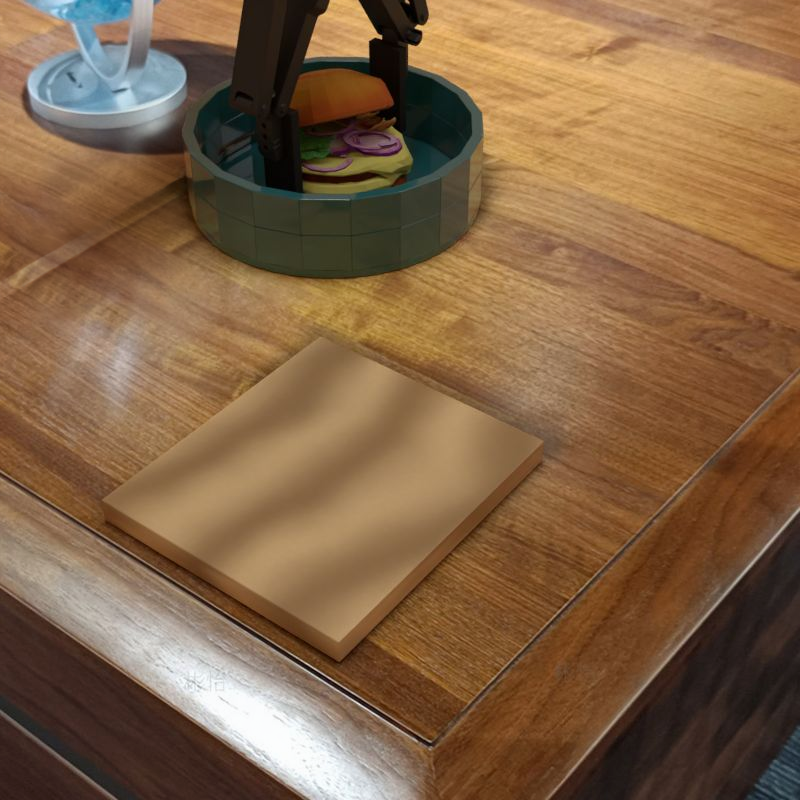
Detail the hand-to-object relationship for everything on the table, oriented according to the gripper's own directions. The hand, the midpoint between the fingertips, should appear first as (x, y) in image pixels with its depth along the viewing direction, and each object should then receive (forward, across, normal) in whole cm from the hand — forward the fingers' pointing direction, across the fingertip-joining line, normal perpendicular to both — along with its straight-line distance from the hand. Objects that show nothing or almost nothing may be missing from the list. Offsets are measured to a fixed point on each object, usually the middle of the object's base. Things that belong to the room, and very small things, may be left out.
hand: (338, 159), depth 95 cm
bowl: (+3, 0, 0) cm, 3 cm away
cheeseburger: (+2, 0, 0) cm, 3 cm away
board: (+3, -24, -19) cm, 31 cm away
